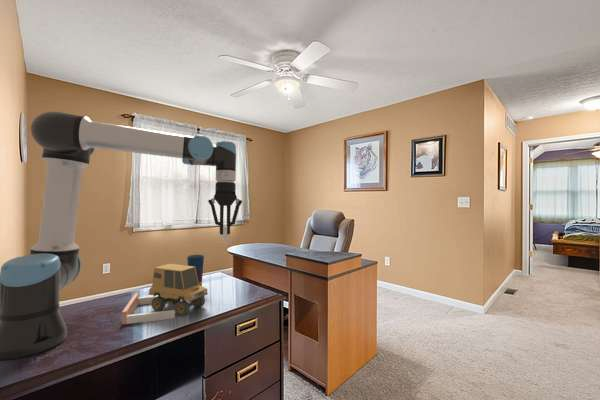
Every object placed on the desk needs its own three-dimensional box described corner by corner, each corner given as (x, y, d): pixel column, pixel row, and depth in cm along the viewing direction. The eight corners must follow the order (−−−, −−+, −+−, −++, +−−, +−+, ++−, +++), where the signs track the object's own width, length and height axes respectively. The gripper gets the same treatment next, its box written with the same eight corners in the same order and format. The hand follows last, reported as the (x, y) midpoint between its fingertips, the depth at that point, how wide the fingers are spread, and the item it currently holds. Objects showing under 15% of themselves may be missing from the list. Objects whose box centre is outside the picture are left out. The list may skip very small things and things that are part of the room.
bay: (121, 324, 88) (122, 311, 88) (134, 304, 105) (135, 293, 105) (174, 318, 93) (174, 306, 93) (178, 299, 111) (178, 289, 111)
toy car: (188, 318, 93) (189, 273, 93) (146, 310, 100) (146, 268, 100) (209, 307, 103) (209, 266, 103) (169, 300, 110) (169, 262, 110)
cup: (201, 287, 127) (202, 253, 127) (205, 291, 121) (205, 256, 121) (185, 289, 123) (186, 255, 123) (188, 293, 118) (188, 258, 118)
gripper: (208, 180, 103) (207, 245, 103) (243, 182, 107) (243, 243, 107) (207, 182, 110) (206, 242, 110) (241, 183, 114) (240, 241, 114)
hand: (224, 243), depth 108 cm, fingers closed
